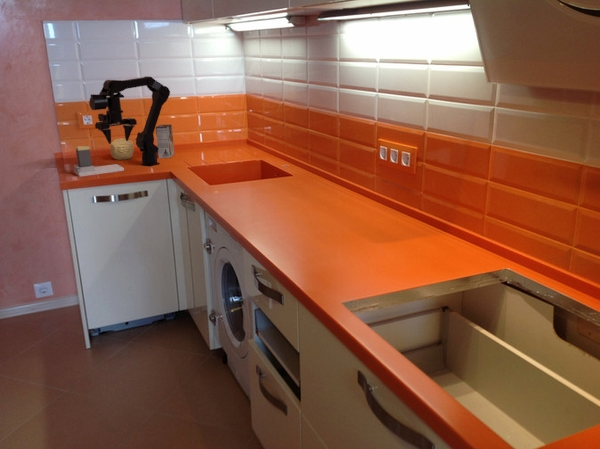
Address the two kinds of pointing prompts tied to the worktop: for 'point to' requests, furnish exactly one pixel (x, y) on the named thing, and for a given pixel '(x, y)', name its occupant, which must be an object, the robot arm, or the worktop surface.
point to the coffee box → (165, 141)
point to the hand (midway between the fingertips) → (118, 142)
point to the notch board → (96, 169)
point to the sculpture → (122, 149)
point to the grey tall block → (83, 156)
